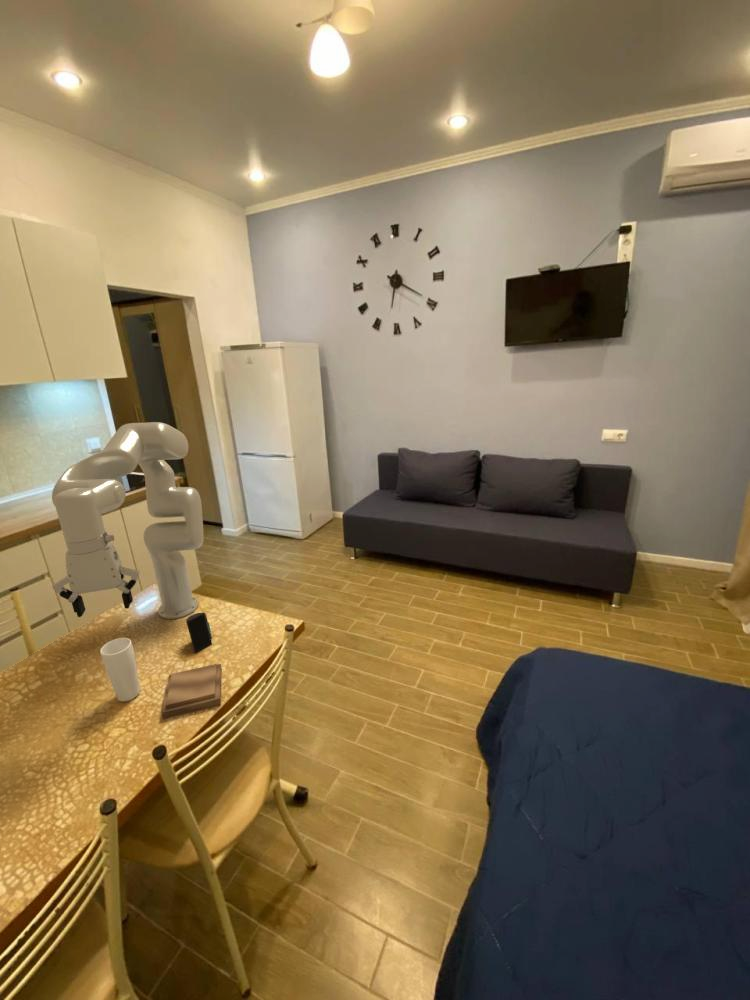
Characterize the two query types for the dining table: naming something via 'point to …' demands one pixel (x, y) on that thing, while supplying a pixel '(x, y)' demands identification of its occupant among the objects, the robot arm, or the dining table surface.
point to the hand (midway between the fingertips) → (105, 609)
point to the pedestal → (192, 690)
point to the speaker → (199, 631)
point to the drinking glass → (121, 668)
